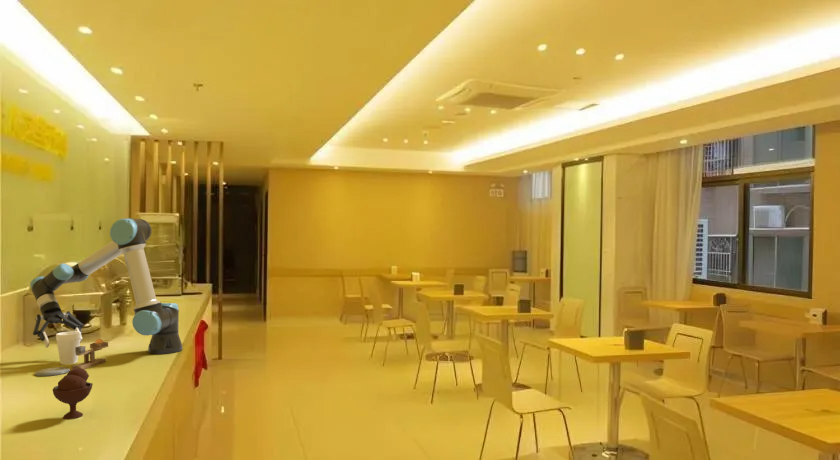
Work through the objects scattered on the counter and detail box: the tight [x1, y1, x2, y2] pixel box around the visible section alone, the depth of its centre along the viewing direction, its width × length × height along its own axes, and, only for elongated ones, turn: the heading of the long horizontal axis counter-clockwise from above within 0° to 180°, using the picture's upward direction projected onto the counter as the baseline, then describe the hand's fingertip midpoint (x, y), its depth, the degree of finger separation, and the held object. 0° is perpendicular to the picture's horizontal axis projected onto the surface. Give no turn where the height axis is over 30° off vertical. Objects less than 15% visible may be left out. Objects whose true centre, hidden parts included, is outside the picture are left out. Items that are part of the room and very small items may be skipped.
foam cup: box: [55, 330, 82, 365], centre depth 261 cm, size 10×9×13 cm
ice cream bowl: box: [52, 368, 94, 420], centre depth 188 cm, size 11×11×15 cm
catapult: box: [71, 341, 109, 370], centre depth 256 cm, size 5×16×9 cm, turn 170°
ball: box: [94, 338, 104, 344], centre depth 262 cm, size 3×3×3 cm
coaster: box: [34, 366, 71, 377], centre depth 244 cm, size 12×12×1 cm
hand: (64, 343), depth 262 cm, fingers open, 13 cm apart
